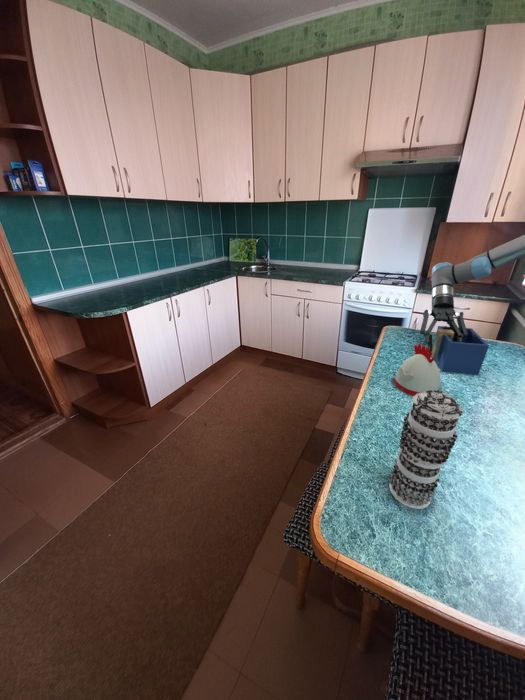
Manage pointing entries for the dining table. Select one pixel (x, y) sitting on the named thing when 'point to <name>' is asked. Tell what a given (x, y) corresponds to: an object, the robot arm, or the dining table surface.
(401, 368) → the kitchen timer
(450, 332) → the wood clip
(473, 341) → the blue bin
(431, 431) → the decorative candle
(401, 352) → the dining table surface
